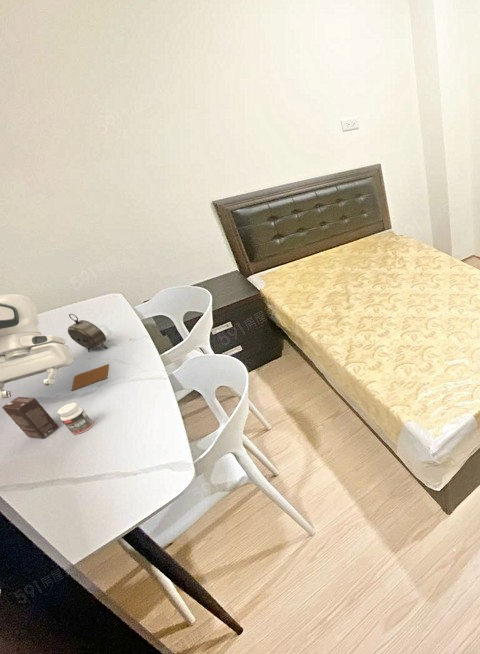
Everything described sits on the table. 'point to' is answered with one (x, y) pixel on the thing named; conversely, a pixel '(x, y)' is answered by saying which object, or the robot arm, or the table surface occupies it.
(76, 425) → the pill bottle
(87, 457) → the table surface
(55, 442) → the table surface
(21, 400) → the box
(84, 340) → the alarm clock
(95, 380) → the coaster
